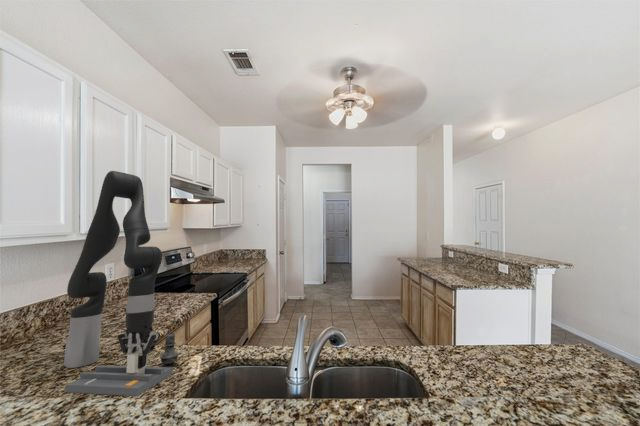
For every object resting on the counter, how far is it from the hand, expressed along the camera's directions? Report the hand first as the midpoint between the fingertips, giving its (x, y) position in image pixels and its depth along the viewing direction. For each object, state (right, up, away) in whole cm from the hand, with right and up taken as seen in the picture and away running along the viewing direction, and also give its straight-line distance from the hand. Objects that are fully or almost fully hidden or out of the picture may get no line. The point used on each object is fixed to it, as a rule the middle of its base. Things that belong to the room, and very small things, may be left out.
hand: (137, 367), depth 84 cm
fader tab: (0, -2, 0) cm, 2 cm away
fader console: (-5, -5, 0) cm, 7 cm away
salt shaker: (+3, -7, +12) cm, 14 cm away
